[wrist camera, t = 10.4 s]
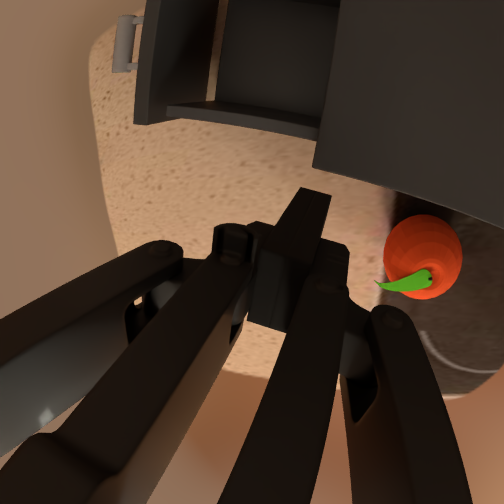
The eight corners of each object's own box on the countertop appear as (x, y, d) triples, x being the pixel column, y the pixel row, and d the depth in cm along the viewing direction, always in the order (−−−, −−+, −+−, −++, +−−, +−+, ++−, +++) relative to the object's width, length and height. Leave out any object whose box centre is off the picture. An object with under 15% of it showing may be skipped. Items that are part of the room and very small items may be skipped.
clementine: (385, 285, 30) (388, 332, 24) (359, 224, 28) (357, 261, 22) (459, 257, 26) (479, 300, 20) (438, 191, 24) (460, 220, 18)
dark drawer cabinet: (328, 142, 26) (311, 167, 17) (353, -5, 19) (347, -58, 10) (506, 202, 22) (560, 254, 13) (537, 66, 15) (605, 64, 6)
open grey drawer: (147, 108, 28) (83, 120, 21) (162, -9, 22) (100, -29, 15) (379, 150, 24) (388, 174, 16) (404, 10, 18) (422, -26, 10)
